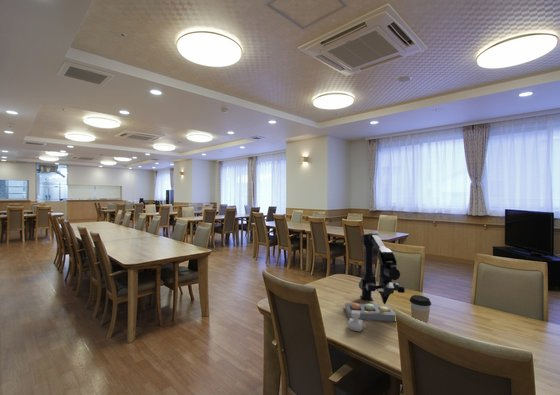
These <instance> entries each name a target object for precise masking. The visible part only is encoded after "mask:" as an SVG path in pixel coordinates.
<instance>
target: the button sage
mask: <svg viewBox="0 0 560 395" xmlns="http://www.w3.org/2000/svg"><path fill="white" fill-rule="evenodd" d="M365 304H366V307H365V309H367V311H373V310H374V305H375V304H372V303H365Z"/></svg>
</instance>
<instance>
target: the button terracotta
mask: <svg viewBox="0 0 560 395" xmlns="http://www.w3.org/2000/svg"><path fill="white" fill-rule="evenodd" d="M360 304H361V303H357V302H352V304H351V308H352V309H353V310H359V309H360Z"/></svg>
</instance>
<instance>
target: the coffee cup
mask: <svg viewBox="0 0 560 395" xmlns="http://www.w3.org/2000/svg"><path fill="white" fill-rule="evenodd" d="M408 301H409V302H410V309H411V311H410V312H411V318H412V317H413V318H415V319H418V320H420V321H423V322H425V323H427V324H428V322H429V318H430V310H431V306H432V302H431V300H430V298H429V297H427V296H424V295H421V294H414V295H411V297H409V300H408Z"/></svg>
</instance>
